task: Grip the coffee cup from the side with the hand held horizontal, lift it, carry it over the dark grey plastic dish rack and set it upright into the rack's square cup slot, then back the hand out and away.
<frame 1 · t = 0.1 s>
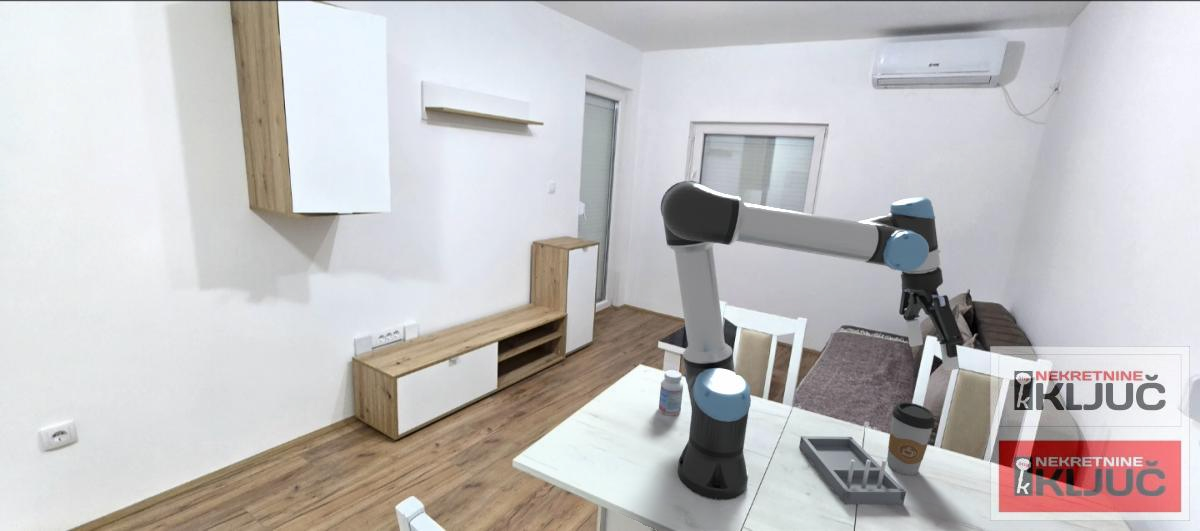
hand: (932, 356, 108), 28 cm above the table, tool tilted 20°, fingers open, 13 cm apart
pill bottle: (669, 411, 132), on the table
dish rack: (846, 473, 109), on the table
coffee cup: (901, 467, 113), on the table
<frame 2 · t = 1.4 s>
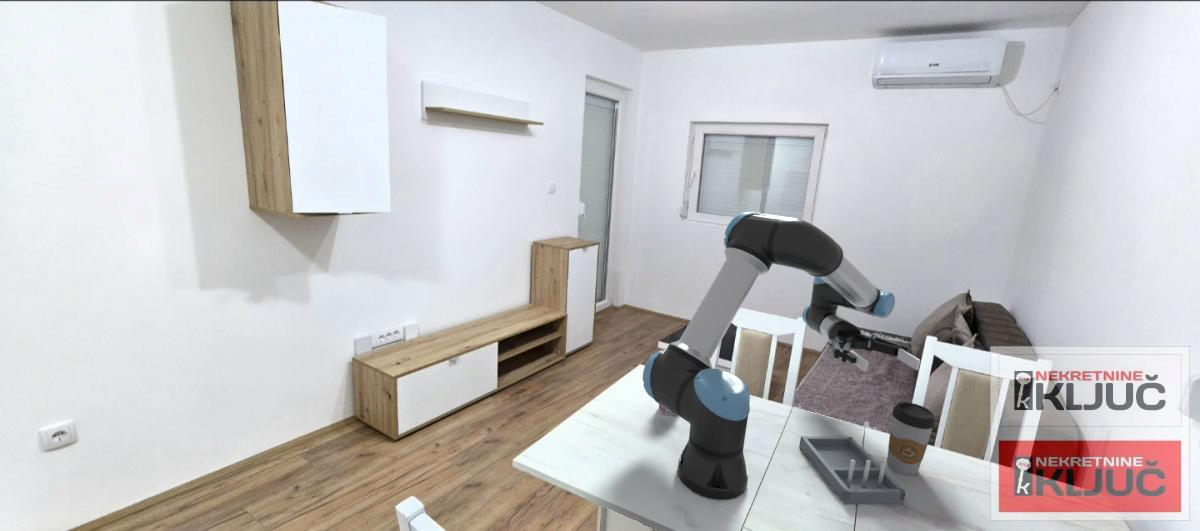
hand: (892, 365, 116), 22 cm above the table, tool horizontal, fingers open, 13 cm apart
nothing on the table moved.
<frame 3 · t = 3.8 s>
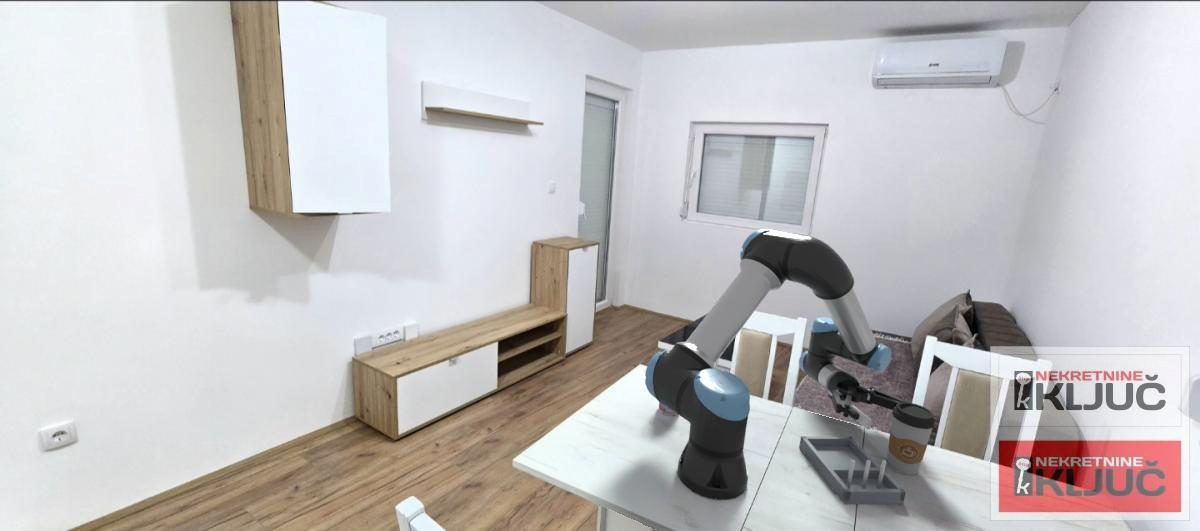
hand: (894, 423, 116), 8 cm above the table, tool horizontal, fingers open, 13 cm apart
nothing on the table moved.
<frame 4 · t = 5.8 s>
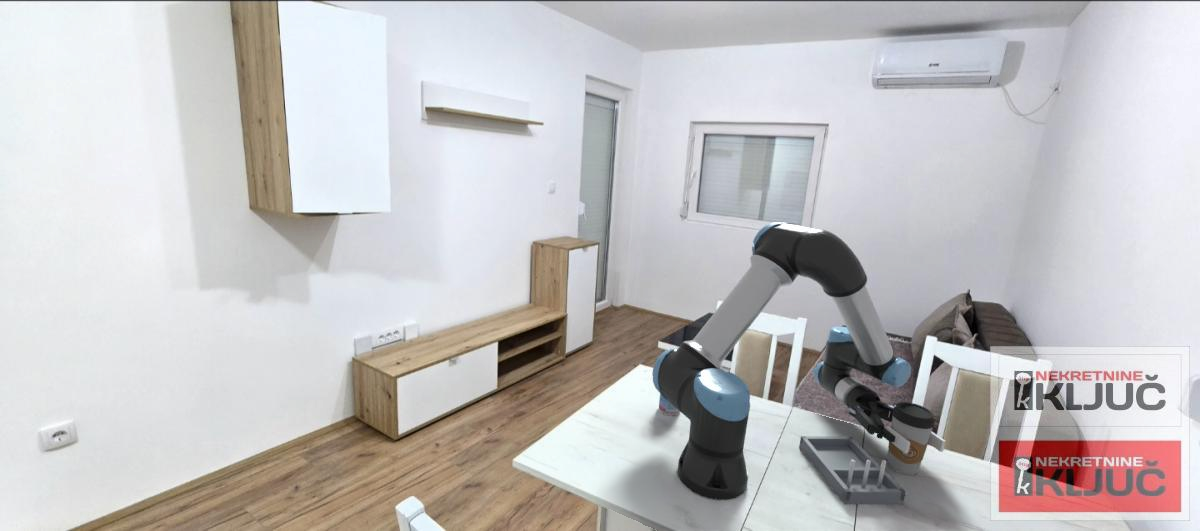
hand: (925, 447, 106), 9 cm above the table, tool horizontal, fingers closed on coffee cup, 8 cm apart
coffee cup: (901, 467, 113), on the table, touching gripper
everything else where it was.
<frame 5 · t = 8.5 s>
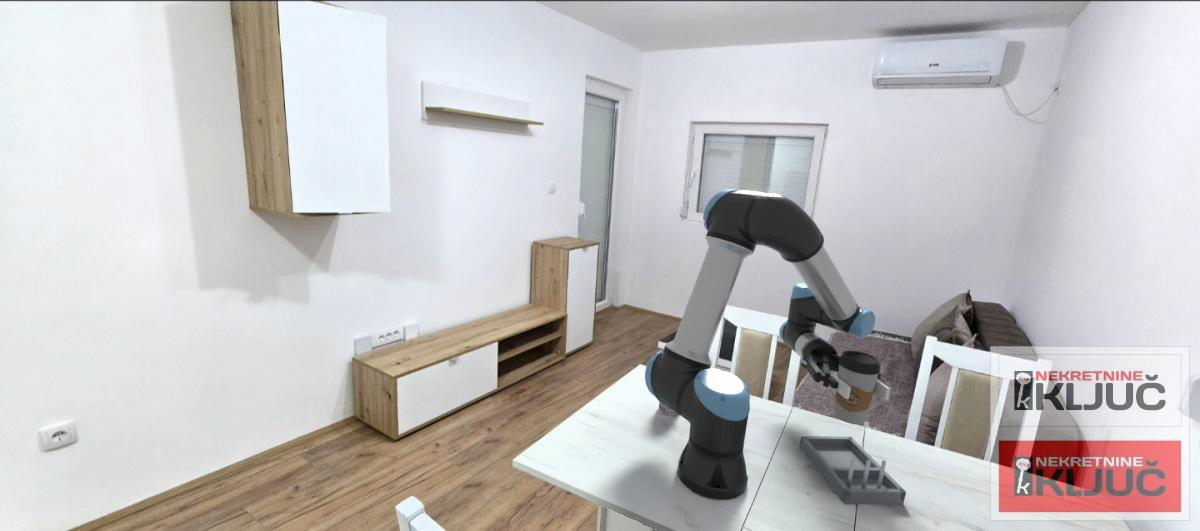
hand: (868, 393, 103), 21 cm above the table, tool horizontal, fingers closed on coffee cup, 8 cm apart
coffee cup: (848, 418, 110), point 12 cm above the table, touching gripper
everything else where it was.
when the fingers open (11 cm above the table, at t = 11.4 s): coffee cup drops 1 cm, resting on dish rack.
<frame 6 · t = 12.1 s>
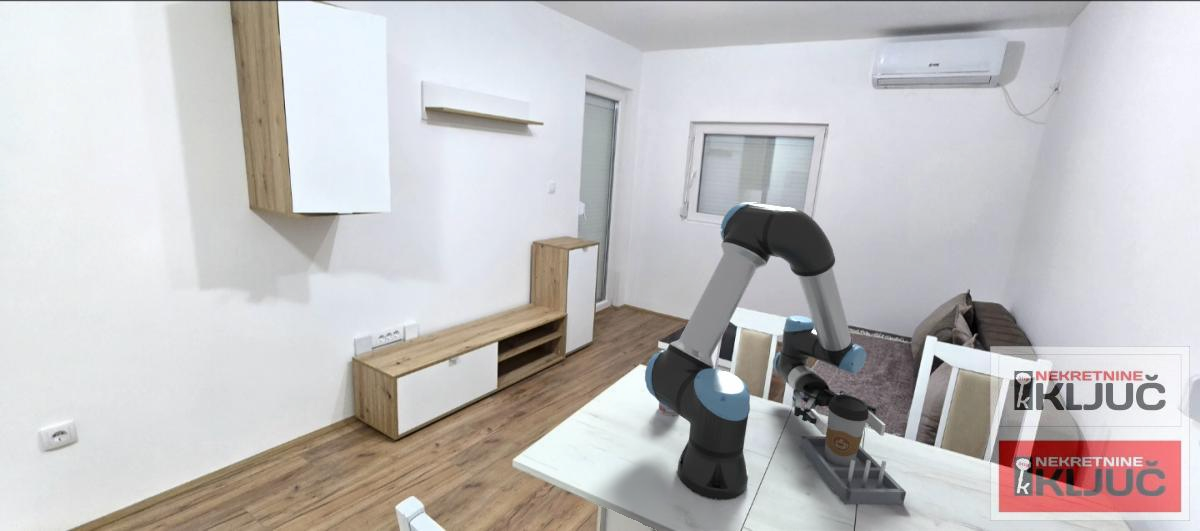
hand: (854, 429, 107), 11 cm above the table, tool horizontal, fingers open, 13 cm apart
coffee cup: (838, 460, 113), point 1 cm above the table, touching dish rack
everything else where it was.
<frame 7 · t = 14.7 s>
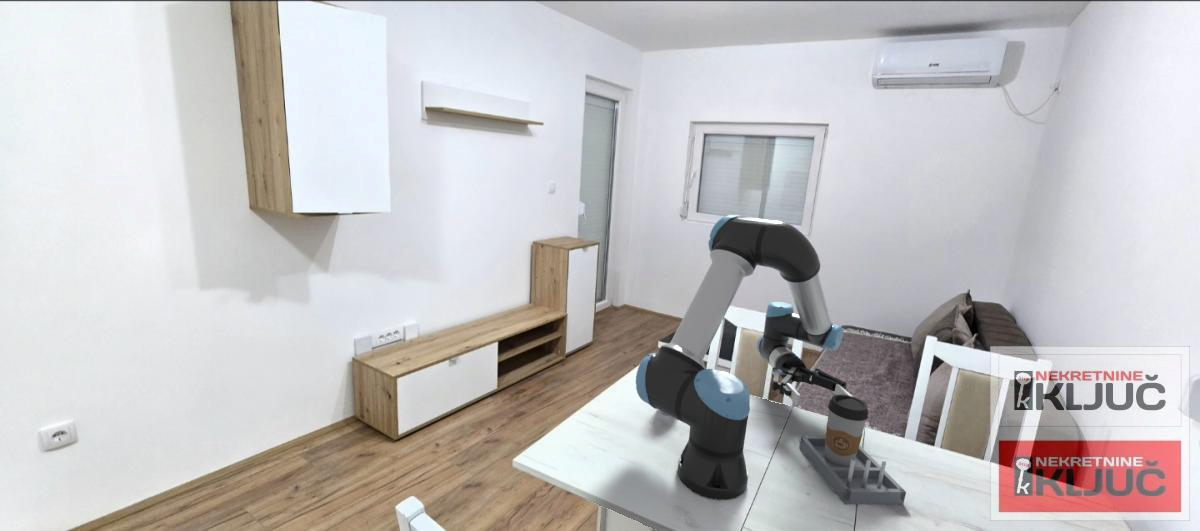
hand: (824, 400, 120), 11 cm above the table, tool horizontal, fingers open, 13 cm apart
nothing on the table moved.
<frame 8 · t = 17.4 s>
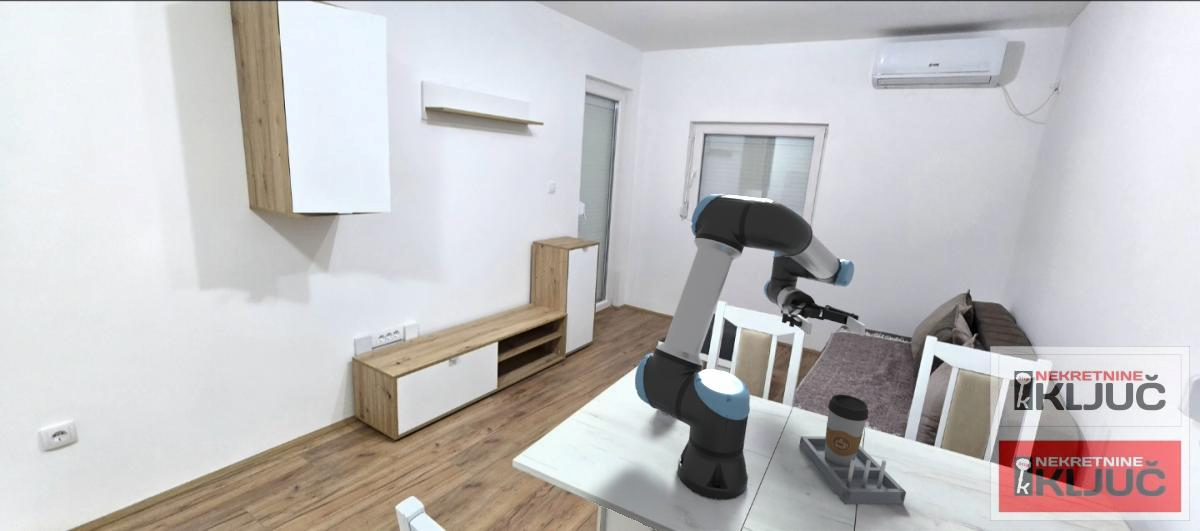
hand: (837, 329, 115), 30 cm above the table, tool horizontal, fingers open, 13 cm apart
nothing on the table moved.
at the end: coffee cup 0.1 cm from the target spot on the dish rack, point 0.8 cm above the dish rack's base; coffee cup tilted 0°; the gripper is holding nothing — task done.
